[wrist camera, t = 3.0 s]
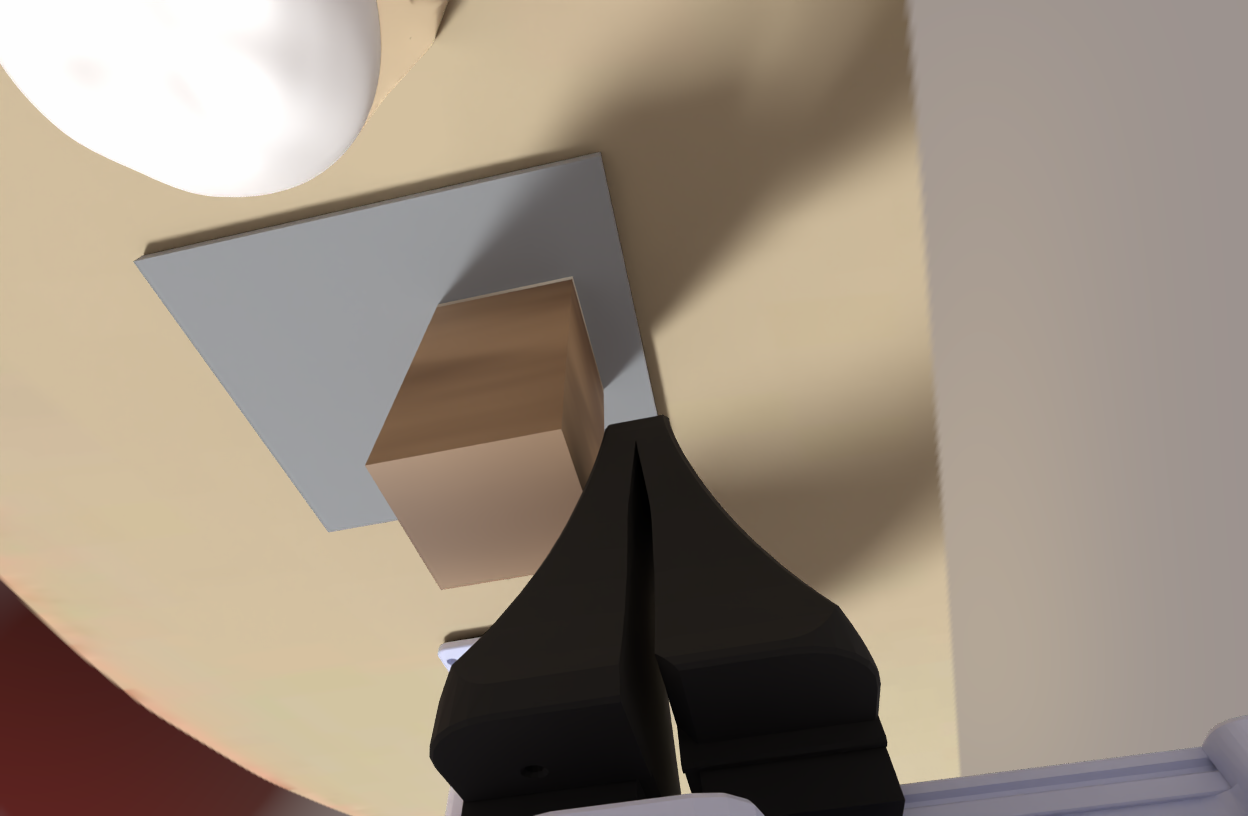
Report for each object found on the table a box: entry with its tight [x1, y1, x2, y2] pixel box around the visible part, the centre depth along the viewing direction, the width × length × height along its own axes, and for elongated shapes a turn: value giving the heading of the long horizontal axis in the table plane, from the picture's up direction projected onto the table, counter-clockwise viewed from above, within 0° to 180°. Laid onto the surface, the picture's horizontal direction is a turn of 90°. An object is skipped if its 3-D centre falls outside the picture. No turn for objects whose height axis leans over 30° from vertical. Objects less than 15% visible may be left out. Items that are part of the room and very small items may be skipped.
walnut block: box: [365, 276, 604, 590], centre depth 16 cm, size 4×4×7 cm
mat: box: [133, 152, 658, 532], centre depth 20 cm, size 11×13×1 cm
